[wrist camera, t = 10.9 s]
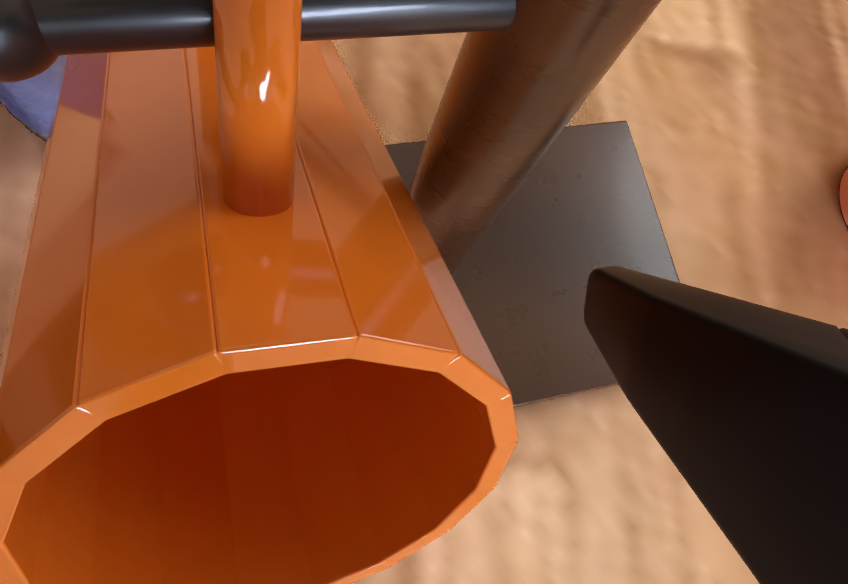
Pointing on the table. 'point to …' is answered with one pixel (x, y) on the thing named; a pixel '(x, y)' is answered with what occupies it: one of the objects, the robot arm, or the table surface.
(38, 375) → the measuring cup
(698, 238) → the table surface
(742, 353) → the robot arm
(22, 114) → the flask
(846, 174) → the pottery
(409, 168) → the hook stand
